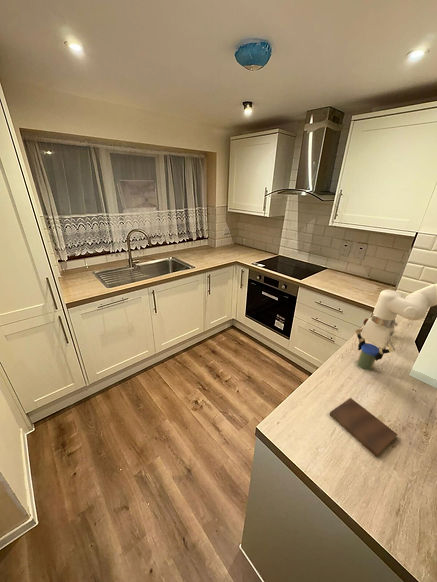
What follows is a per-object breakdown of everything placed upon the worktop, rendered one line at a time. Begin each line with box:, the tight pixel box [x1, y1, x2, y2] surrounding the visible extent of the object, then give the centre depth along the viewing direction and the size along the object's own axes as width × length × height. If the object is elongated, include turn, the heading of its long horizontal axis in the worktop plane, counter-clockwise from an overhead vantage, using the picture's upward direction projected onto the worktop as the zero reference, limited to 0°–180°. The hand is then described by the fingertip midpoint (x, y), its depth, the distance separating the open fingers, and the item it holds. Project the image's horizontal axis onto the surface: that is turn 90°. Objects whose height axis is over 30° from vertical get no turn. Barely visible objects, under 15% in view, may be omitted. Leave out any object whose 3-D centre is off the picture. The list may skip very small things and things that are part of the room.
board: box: [329, 397, 398, 458], centre depth 78 cm, size 16×12×2 cm
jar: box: [356, 349, 376, 371], centre depth 103 cm, size 6×6×9 cm
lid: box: [361, 342, 379, 356], centre depth 101 cm, size 7×7×2 cm
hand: (368, 353), depth 102 cm, fingers closed on lid, 6 cm apart
